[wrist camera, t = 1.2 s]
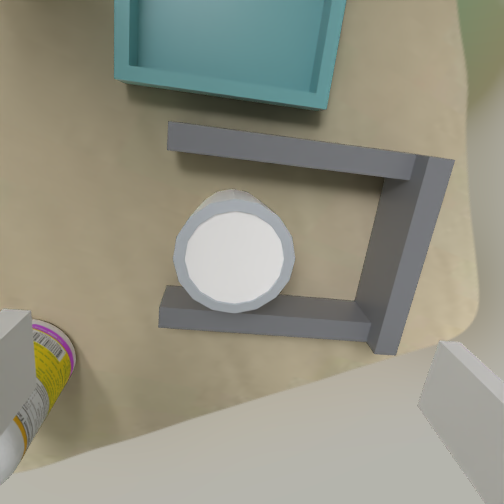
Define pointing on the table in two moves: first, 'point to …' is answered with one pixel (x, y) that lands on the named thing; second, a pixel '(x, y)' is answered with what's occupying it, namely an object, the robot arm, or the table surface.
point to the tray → (231, 48)
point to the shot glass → (233, 253)
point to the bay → (378, 253)
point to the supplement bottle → (38, 393)
